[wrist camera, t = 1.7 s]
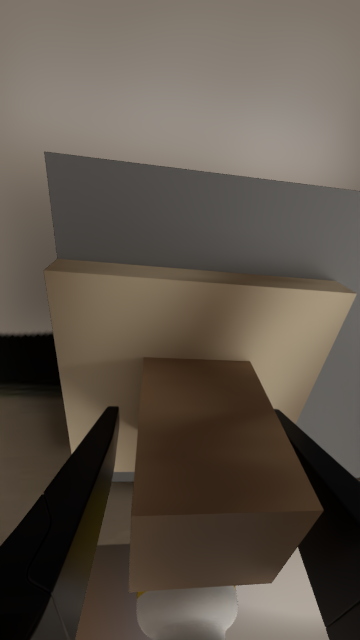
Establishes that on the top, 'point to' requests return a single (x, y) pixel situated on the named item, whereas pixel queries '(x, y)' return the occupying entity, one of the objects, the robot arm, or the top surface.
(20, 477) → the top surface
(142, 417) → the lid
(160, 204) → the board
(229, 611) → the supplement bottle
